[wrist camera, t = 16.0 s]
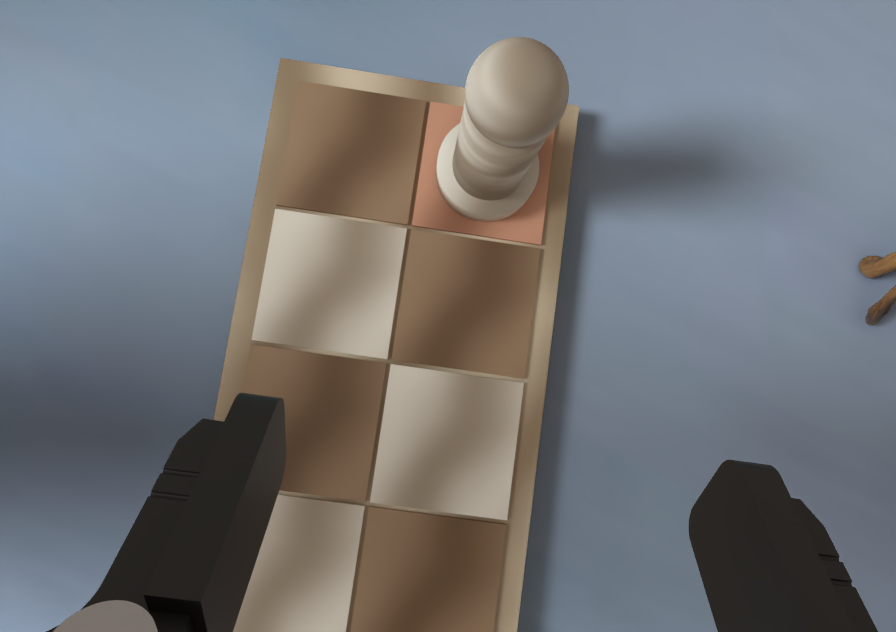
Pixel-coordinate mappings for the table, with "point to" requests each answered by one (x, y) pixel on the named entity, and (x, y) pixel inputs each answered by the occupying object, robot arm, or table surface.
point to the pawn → (502, 129)
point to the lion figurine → (873, 269)
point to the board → (392, 361)
